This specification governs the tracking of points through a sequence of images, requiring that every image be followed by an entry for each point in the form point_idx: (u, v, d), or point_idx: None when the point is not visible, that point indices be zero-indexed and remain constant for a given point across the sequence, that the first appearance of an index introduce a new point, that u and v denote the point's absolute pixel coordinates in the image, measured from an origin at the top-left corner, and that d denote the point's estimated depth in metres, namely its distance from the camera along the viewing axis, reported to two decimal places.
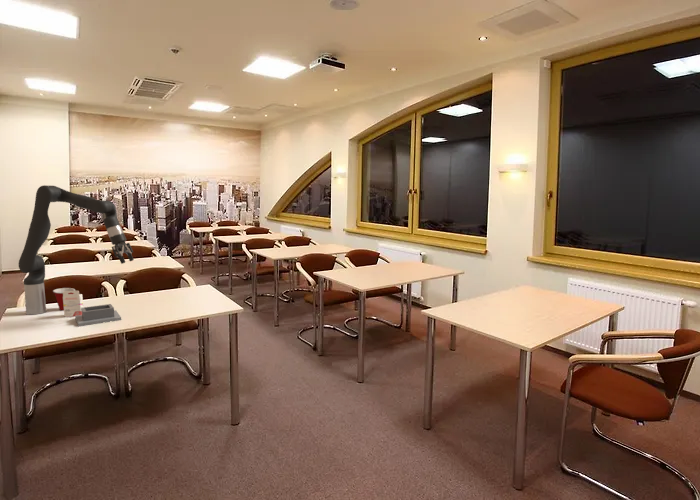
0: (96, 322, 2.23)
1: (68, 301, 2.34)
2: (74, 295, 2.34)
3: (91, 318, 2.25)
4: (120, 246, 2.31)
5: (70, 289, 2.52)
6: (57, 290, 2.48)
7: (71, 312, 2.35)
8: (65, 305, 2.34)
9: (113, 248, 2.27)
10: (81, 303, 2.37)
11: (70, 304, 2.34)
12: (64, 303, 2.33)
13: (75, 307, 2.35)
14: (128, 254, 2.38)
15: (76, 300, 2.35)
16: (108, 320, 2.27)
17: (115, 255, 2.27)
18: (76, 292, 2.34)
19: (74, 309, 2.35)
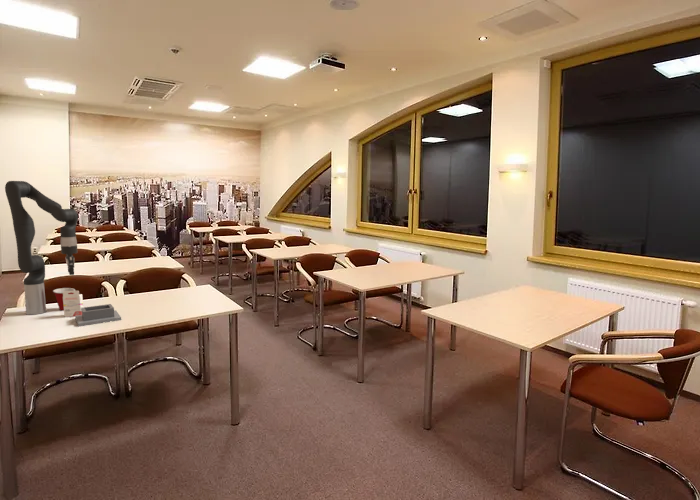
0: (96, 322, 2.23)
1: (68, 301, 2.34)
2: (74, 295, 2.34)
3: (91, 318, 2.25)
4: None
5: (70, 289, 2.52)
6: (57, 290, 2.48)
7: (71, 312, 2.35)
8: (65, 305, 2.34)
9: (69, 259, 2.27)
10: (81, 303, 2.37)
11: (70, 304, 2.34)
12: (64, 303, 2.33)
13: (75, 308, 2.35)
14: None
15: (76, 300, 2.35)
16: (108, 320, 2.27)
17: (69, 266, 2.28)
18: (76, 292, 2.34)
19: (74, 309, 2.35)
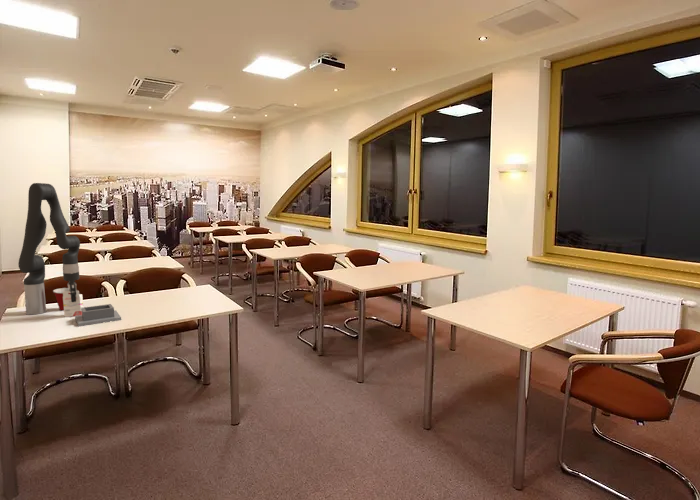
0: (96, 322, 2.23)
1: (68, 301, 2.34)
2: None
3: (91, 318, 2.25)
4: (74, 284, 2.34)
5: None
6: (57, 290, 2.48)
7: (71, 312, 2.35)
8: (65, 305, 2.34)
9: (72, 287, 2.30)
10: (81, 303, 2.37)
11: (70, 304, 2.34)
12: (64, 303, 2.33)
13: (75, 307, 2.35)
14: None
15: (76, 300, 2.35)
16: (108, 320, 2.27)
17: (71, 294, 2.30)
18: (76, 292, 2.34)
19: (74, 309, 2.35)
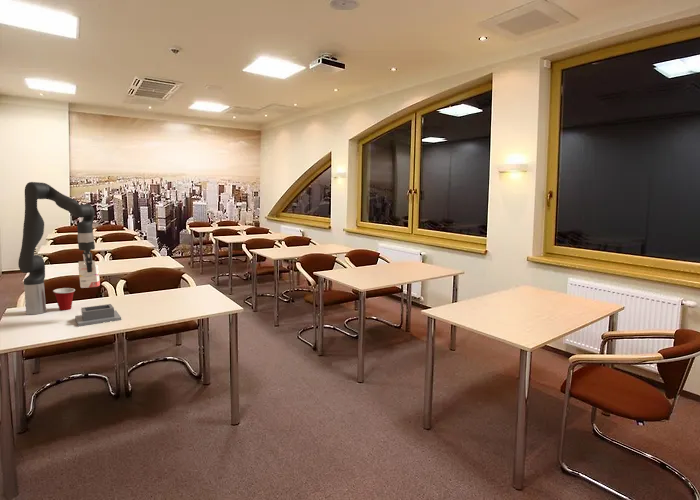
0: (96, 322, 2.23)
1: (84, 272, 2.27)
2: None
3: (91, 318, 2.25)
4: None
5: (70, 289, 2.52)
6: (57, 290, 2.48)
7: (87, 283, 2.28)
8: (81, 276, 2.27)
9: (87, 256, 2.23)
10: (97, 274, 2.30)
11: (86, 275, 2.27)
12: (80, 274, 2.26)
13: (91, 278, 2.28)
14: None
15: (92, 270, 2.28)
16: (108, 320, 2.27)
17: (87, 263, 2.23)
18: (92, 262, 2.27)
19: (90, 280, 2.28)
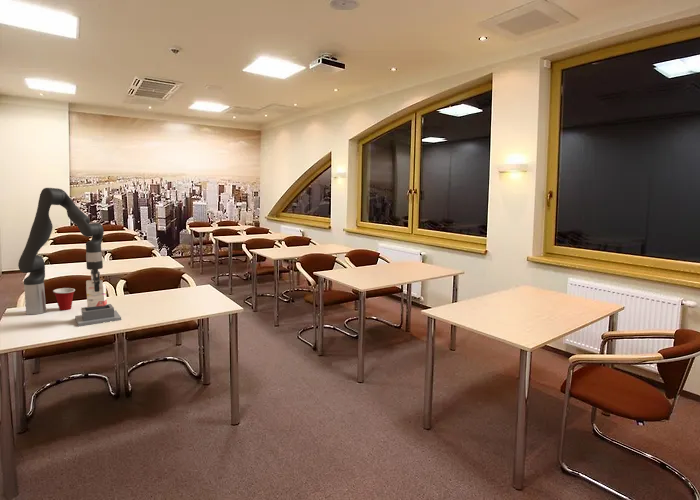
0: (96, 322, 2.23)
1: (92, 291, 2.26)
2: None
3: (91, 318, 2.25)
4: None
5: (70, 289, 2.52)
6: (57, 290, 2.48)
7: (95, 302, 2.27)
8: (88, 295, 2.26)
9: (95, 276, 2.22)
10: (104, 293, 2.30)
11: (93, 294, 2.27)
12: (87, 293, 2.26)
13: (99, 297, 2.28)
14: (94, 281, 2.31)
15: (100, 290, 2.27)
16: (108, 320, 2.27)
17: (95, 283, 2.23)
18: (100, 281, 2.27)
19: (97, 299, 2.27)
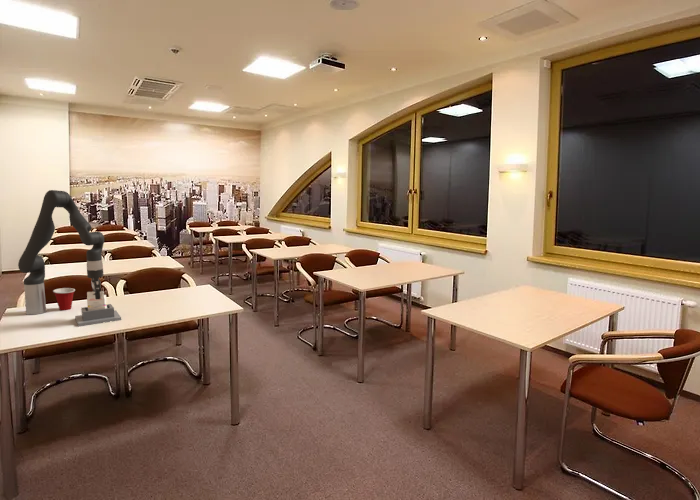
0: (96, 322, 2.23)
1: (93, 302, 2.27)
2: None
3: (91, 318, 2.25)
4: None
5: (70, 289, 2.52)
6: (57, 290, 2.48)
7: None
8: (89, 306, 2.27)
9: (96, 283, 2.22)
10: (105, 304, 2.31)
11: (94, 305, 2.27)
12: (88, 304, 2.27)
13: (100, 308, 2.29)
14: (94, 289, 2.32)
15: (101, 301, 2.28)
16: (108, 320, 2.27)
17: (96, 290, 2.23)
18: (101, 293, 2.28)
19: None
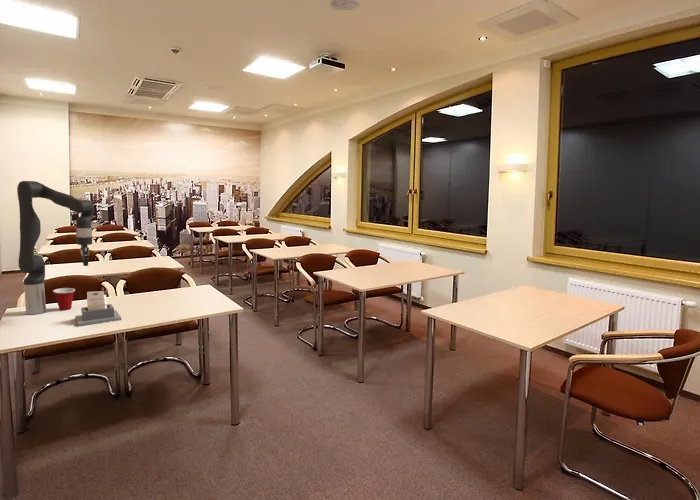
0: (96, 322, 2.23)
1: (93, 302, 2.27)
2: (99, 296, 2.28)
3: (91, 318, 2.25)
4: (87, 248, 2.32)
5: (70, 289, 2.52)
6: (57, 290, 2.48)
7: None
8: (89, 306, 2.27)
9: (84, 250, 2.28)
10: (105, 304, 2.31)
11: (94, 305, 2.27)
12: (88, 304, 2.27)
13: (100, 308, 2.29)
14: (83, 256, 2.37)
15: (101, 301, 2.28)
16: (108, 320, 2.27)
17: (84, 257, 2.28)
18: (101, 293, 2.28)
19: None
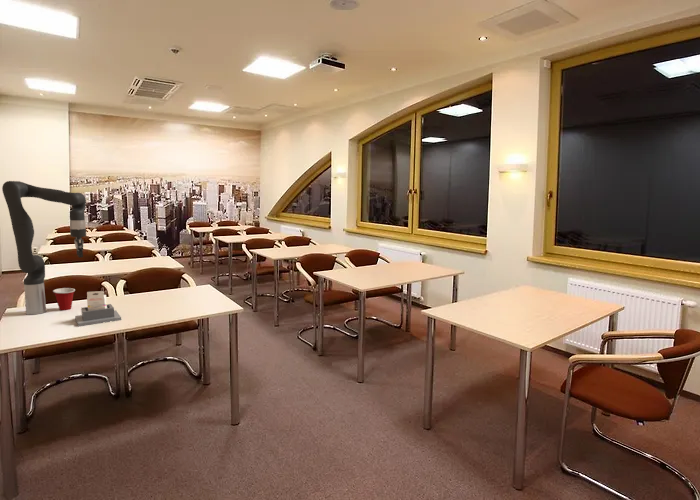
0: (96, 322, 2.23)
1: (93, 302, 2.27)
2: (99, 296, 2.28)
3: (91, 318, 2.25)
4: None
5: (70, 289, 2.52)
6: (57, 290, 2.48)
7: None
8: (89, 306, 2.27)
9: (79, 241, 2.32)
10: (105, 304, 2.31)
11: (94, 305, 2.27)
12: (88, 304, 2.27)
13: (100, 308, 2.29)
14: None
15: (101, 301, 2.28)
16: (108, 320, 2.27)
17: (78, 248, 2.33)
18: (101, 293, 2.28)
19: None
